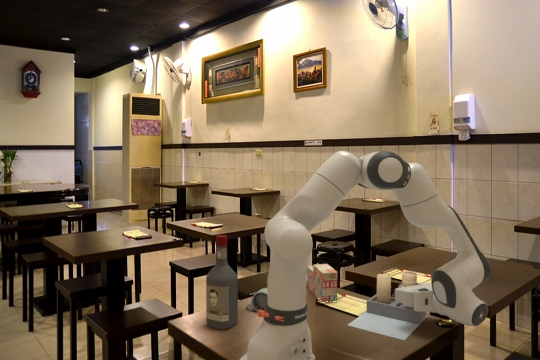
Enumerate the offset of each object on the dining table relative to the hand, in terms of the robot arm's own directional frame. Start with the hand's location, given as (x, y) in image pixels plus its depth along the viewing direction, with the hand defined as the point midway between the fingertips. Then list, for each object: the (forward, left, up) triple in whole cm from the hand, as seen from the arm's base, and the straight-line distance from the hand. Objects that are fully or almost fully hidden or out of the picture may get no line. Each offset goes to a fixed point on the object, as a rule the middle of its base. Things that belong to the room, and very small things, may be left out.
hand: (407, 285), depth 144 cm
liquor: (-41, +49, -12) cm, 65 cm away
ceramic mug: (-23, +47, -12) cm, 53 cm away
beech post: (0, -1, -5) cm, 6 cm away
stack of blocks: (+5, +37, -12) cm, 39 cm away
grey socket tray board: (-7, +4, -12) cm, 14 cm away
